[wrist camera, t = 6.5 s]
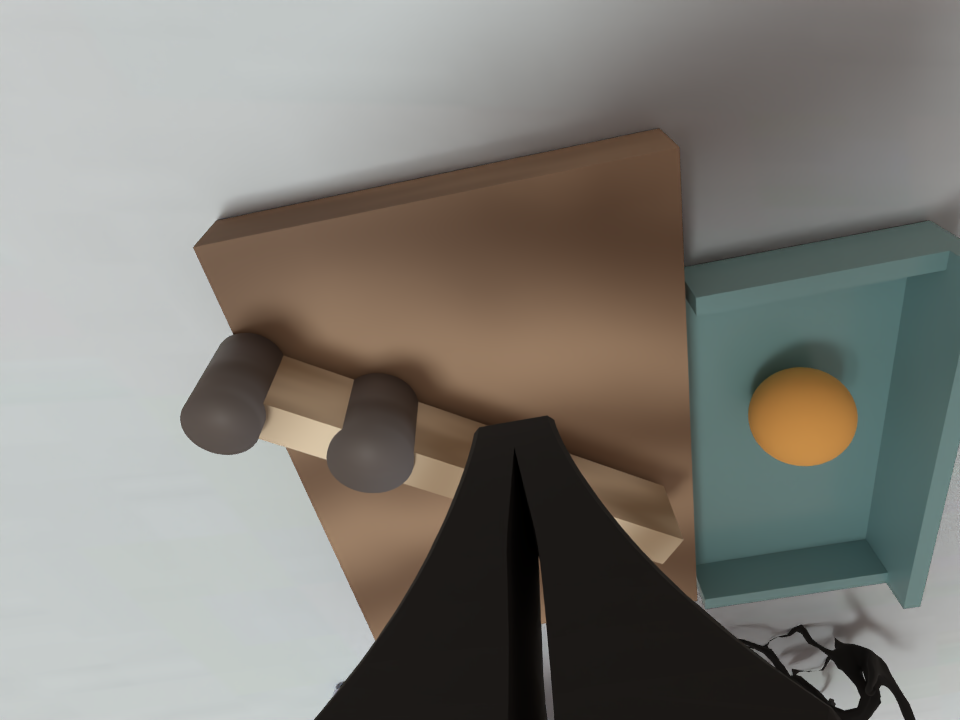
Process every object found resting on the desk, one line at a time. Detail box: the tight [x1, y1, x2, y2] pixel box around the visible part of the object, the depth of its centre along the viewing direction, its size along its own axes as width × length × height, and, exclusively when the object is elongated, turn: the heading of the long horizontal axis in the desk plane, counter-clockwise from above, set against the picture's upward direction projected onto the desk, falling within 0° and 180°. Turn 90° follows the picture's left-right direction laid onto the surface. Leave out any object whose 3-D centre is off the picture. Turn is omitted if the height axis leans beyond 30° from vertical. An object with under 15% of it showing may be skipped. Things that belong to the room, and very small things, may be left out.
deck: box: [193, 128, 697, 641], centre depth 23 cm, size 18×13×2 cm
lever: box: [180, 333, 684, 564], centre depth 20 cm, size 15×2×3 cm, turn 66°
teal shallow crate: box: [684, 221, 960, 609], centre depth 23 cm, size 14×8×3 cm, turn 11°
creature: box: [739, 625, 916, 720], centre depth 30 cm, size 8×5×8 cm
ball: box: [748, 367, 858, 466], centre depth 22 cm, size 3×3×3 cm
